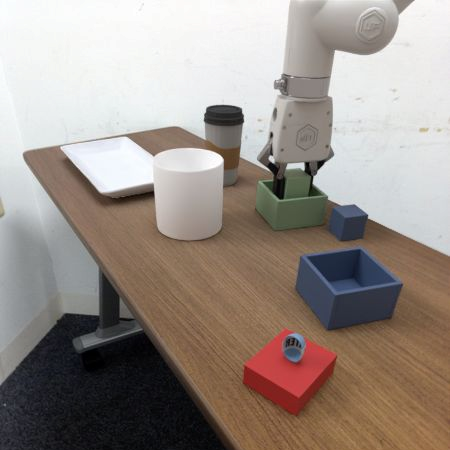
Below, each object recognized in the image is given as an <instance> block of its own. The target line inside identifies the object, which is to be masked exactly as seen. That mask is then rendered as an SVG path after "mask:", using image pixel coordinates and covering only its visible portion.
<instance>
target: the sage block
mask: <svg viewBox="0 0 450 450" xmlns="http://www.w3.org/2000/svg"><path fill="white" fill-rule="evenodd" d="M284 179H285V190H284V198H283V200H285V199H294V198H304V197H308V194H309V187H310V180H311V176H310V175H308V174H307V173H306V172H304V169H302V168H301V167H295V168H286V170H285V173H284Z"/></svg>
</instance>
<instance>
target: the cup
mask: <svg viewBox="0 0 450 450" xmlns="http://www.w3.org/2000/svg"><path fill="white" fill-rule="evenodd" d="M152 166H153V179H154V191H153V192H154V203H155V217H156V218H155V220H156V227H157V230H158V231H159V232H160V233H161V234H162V235H164V236H166V237H168V238H170V239H174V240H177V241H189V242H191V241H201V240H206V239H209V238H212V237H213V236H215V235H217V234H218V233H219V232H220V231H221V230H222V227H223V207H224V206H223V205H224V204H223V203H224V202H223V201H224V186H223V171H224V160H223V158H222V157H221V156H220V155H219V154H217V153H215V152H212V151H209V150H206V149H203V148H195V147H180V148H179V147H177V148H172V149H171V148H170V149H166V150H163V151H161V152H158V153H156V154H155V155H154V157H153V159H152Z"/></svg>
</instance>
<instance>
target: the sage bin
mask: <svg viewBox="0 0 450 450" xmlns="http://www.w3.org/2000/svg"><path fill="white" fill-rule="evenodd" d="M272 187H273V179H264V180H257V187H256V199H255V210H256V211H257V212H258V213H259V215H261V216H262V217H263V219H264V220H265V221H266V223H267V224H268V225H269V226H270V227H271V228H272V229H273V231H274V232H278V231H285V230H293V229H302V228H308V227H317V226H324V222H325V217H326V211H327V205H328V202H329V201H328V200H329V195H327V194H326V193H325V192H324V191H322V190H321V189H320V188H319V187H317V186H316V185H315V184H314V183H313V185H312V190H311V191H310V196H309V197H304V198H294V199H285V200H279V199H278V198H277V197H276V196H275V195H274V194H273V192H272Z"/></svg>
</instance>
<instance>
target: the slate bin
mask: <svg viewBox="0 0 450 450" xmlns="http://www.w3.org/2000/svg"><path fill="white" fill-rule="evenodd" d="M403 286H404V283H403V282H402V281H401V280H400V279H399V278H398V277H397V276H396V275H395V274H394V273H392V272H391V271H390V269H388V268H387V267H386V266H385V265H383V264H382V263H381V262H380V261H379V260H378V259H377V258H376V257H374V256H373V255H372V254H371V252H369V251H368V250H367V249H365V247H363V246H355V247H354V246H353V247H347V248H341V249H340V248H339V249H334V250H333V249H332V250H328V251H327V250H326V251H321V252H319V251H318V252H311V253H307V254H300V256H299V261H298V267H297V275H296V282H295V290H296V291H297V293H298V294H299V295H300V297H301V298H302V299H303V300H304V302H305V303H306V305H307V306H308V307H309V309H310V310H311V311H312V312H313V313H314V315H315V316H316V318H317V319H318V321H320V322H321V324H322V325H323V327H324V328H325V329H326V331H330V330H335V329H341V328H346V327H351V326H356V325H361V324H367V323H372V322H377V321H382V320H386V319H392V317H393V315H394V313H395V310H396V306H397V304H398V301H399V297H400V294H401V292H402V290H403V289H402V288H403Z"/></svg>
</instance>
